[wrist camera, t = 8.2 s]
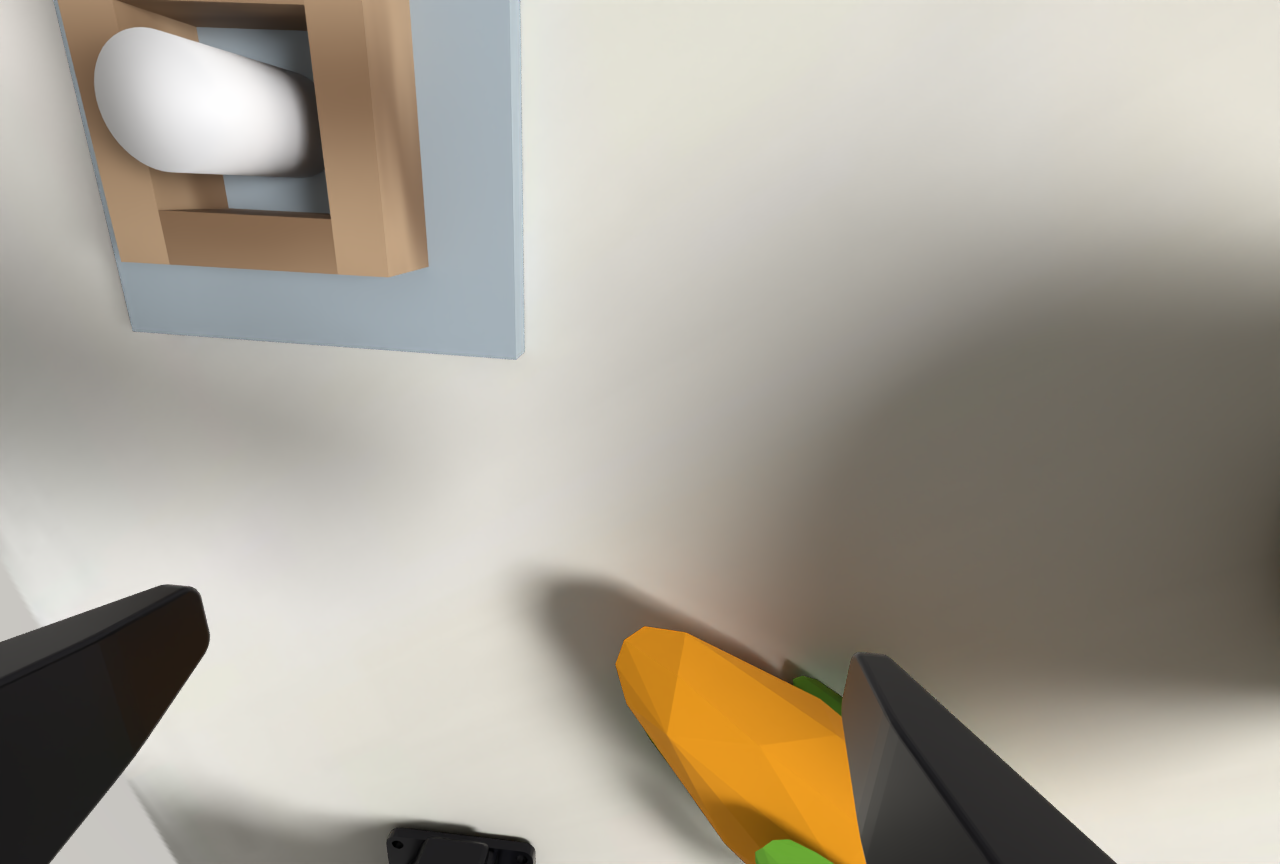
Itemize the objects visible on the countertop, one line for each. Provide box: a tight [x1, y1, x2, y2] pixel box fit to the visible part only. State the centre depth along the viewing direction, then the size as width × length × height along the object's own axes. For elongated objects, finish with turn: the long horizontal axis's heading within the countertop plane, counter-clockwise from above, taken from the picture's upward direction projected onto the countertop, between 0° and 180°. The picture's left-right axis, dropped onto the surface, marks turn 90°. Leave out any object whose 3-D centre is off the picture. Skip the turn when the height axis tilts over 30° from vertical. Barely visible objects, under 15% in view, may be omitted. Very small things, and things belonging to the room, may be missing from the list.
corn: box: [615, 626, 866, 864], centre depth 21 cm, size 7×8×20 cm
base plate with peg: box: [54, 0, 525, 360], centre depth 15 cm, size 12×12×6 cm
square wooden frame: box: [57, 0, 429, 277], centre depth 16 cm, size 7×7×2 cm
